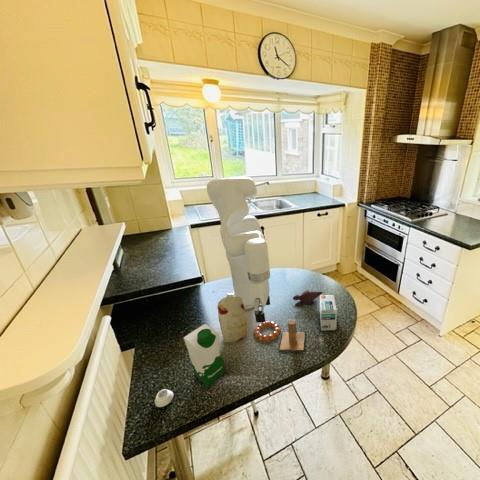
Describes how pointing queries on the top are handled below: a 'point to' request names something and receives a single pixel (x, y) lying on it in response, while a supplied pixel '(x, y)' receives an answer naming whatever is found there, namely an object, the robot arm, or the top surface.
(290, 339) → the stand
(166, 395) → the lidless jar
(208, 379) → the milk carton
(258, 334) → the ring
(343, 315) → the top surface
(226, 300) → the food model
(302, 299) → the dinosaur toy
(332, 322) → the light bulb box
